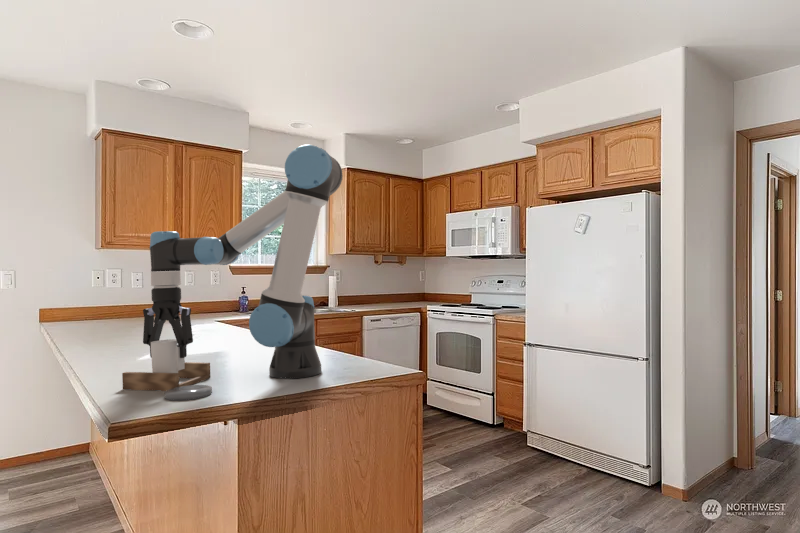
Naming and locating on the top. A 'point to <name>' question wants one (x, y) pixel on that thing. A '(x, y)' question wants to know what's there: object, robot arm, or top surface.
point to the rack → (166, 378)
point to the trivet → (188, 392)
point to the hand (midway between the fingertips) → (168, 369)
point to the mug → (164, 356)
